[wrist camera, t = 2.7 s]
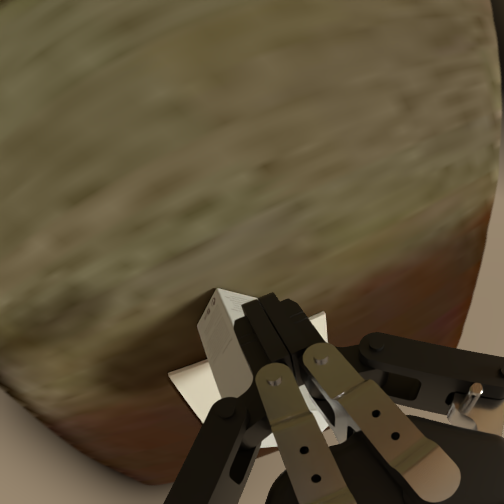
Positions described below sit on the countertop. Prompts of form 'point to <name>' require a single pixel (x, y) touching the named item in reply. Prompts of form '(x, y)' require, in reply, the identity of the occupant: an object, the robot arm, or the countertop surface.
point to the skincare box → (233, 351)
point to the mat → (203, 383)
